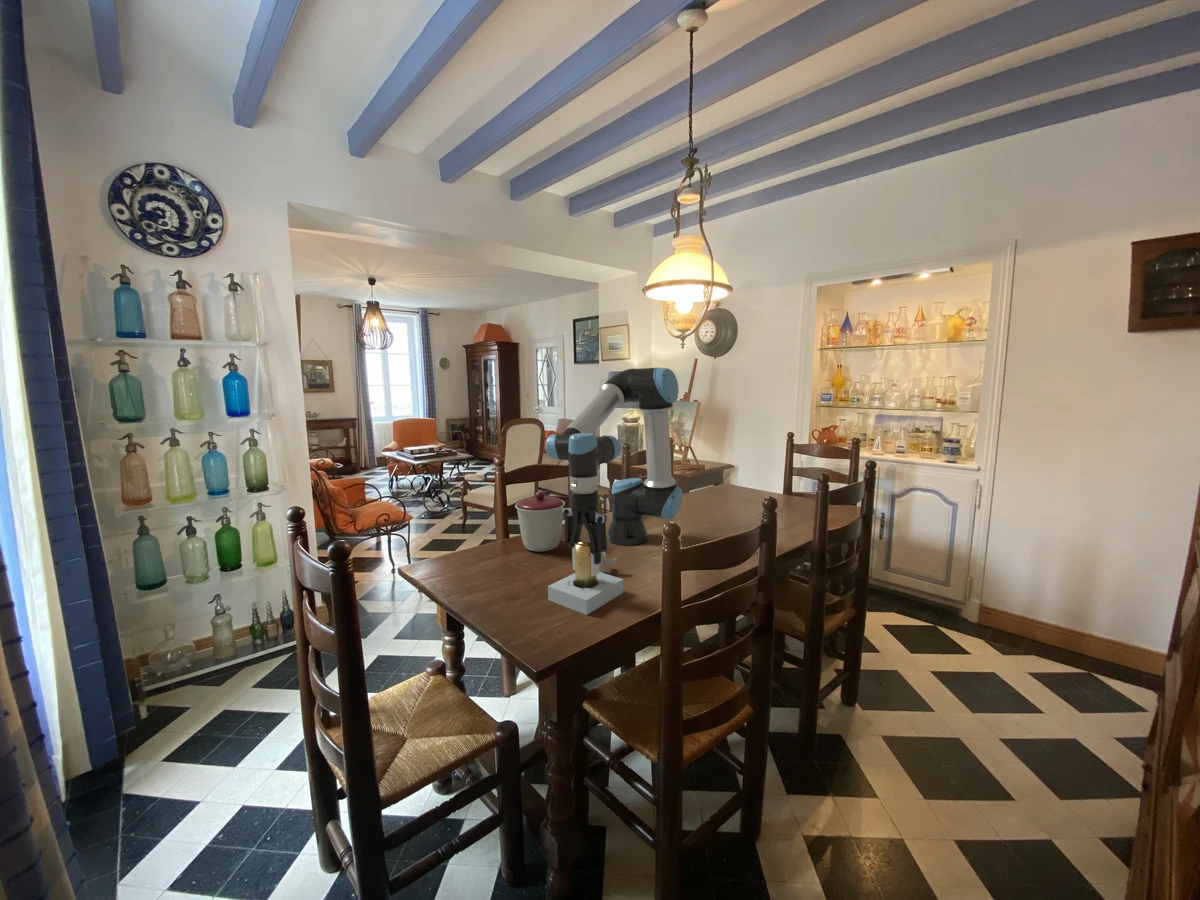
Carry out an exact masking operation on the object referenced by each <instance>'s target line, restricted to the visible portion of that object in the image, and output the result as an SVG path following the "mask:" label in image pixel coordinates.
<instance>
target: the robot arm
mask: <svg viewBox="0 0 1200 900" xmlns="http://www.w3.org/2000/svg"><path fill="white" fill-rule="evenodd" d="M679 391H680V390H679V383H678V379H677V376H676V375H675V373H674V371H672V370H671V369H670V368H668V367H645V368H644V367H643V368H628V369H624V370H622V371H620V372H617V373H616V374H615V375H613V376H611V377H610V378H609V379H607V380H606V381H605V382H604V383H603V384H602V385H601V386H600V387H599V390H598V394H597V395H596V396H595V397H594V398H593V399H592V400H591V401H590V402H589V403H588V404H587V405H586V406H585V408H584V409H583V410H582V411H581V412H580V413H579V414H578V415H577V416H576V417H575V419H574V420H572V422H570V424H569V425H568V426H566V428H565V429H564V430H563V431H562V433H560V434H559V433H553V434H550V435H548V437H547V438H546V440H545V445H544V449H545V453H546V455H547V456H548V457H549V458H551V459H554V460H558V461H560V460H561V461H568V462H569V488H570V493H569V496H570V497H569V499H570V503H569V504H570V506H571V507H568V508H566V509H563V515H564V516H563V517H564V543H565V544H568V545H569V547H570V557H571V558H572V570H573V571H575V545H574V544H575V542H577V541H578V540H580V538H581V537H580V536H581V534H582V533H581V532H582V528H583V525H584V527H585V530H587V534H588V539H590V542H591V546H592V550H593V552H591V576H595V575H597V574H599V563H601V552H605V551H607V550H608V544H607V542H608V541H609V542H610V543H613V544H615V545H619V546H620V545H621V546H635V545H640V544H643V543H646V541H648V532H647V529H646V525H645V522H644V517H643V516H646V517H651V518H652V517H653V518H659V519H663V520H664V519H667V520H671V519H675V517H676V516H677V515H678V514H679V512H680V510H681V507H682V502H683V496H684V495H683V489H682V488H681V487H679V486H677V480H676V479H675V478H674V477H673V476H672V461H671V460H672V459H671V440H670V439H671V437H670V435H671V433H670V416H669V415H670V413H669V411H670V410H671V409H672V408H673V406H674V405H673V403H675V402H677V400H678V397H679ZM626 403H638V409H639V410H640V411H641V412H642V413H643V420H644V421H643V423H644V425H643V426H644V438H645V440H644V441H645V456H646V458H645V459H646V473H647V475H646V476H647V478H645V480H643V479H642V478H641V477H640V478H639V477H631V478H624V479H619V480H616V481H613V483H612V487H611V513H612V514H611V523H610V525H609V529H608V531H607V528H606V522H607V515H606V514H603V515H602V514H600V513H599V511H598V508H597V507H598V503H599V491H597V490H598V489H599V486H598V485H599V484H598V482H599V481H598V466H599V465H602V464H606V463H611V462H612V461H613V460H614V461H615V460H616V459H617V458H618V457H619V456H620V453H621V449H622V448H621V444H620V441H619V439H617V438H616V437H615V436H613V435H611V434H610V435H602V436H597V435H596V434H595V433H596V432H597V430H598V429H600V426H602V425H603V423H604V422H605V421H606V420H607V419H608V418H609V417H610V415H611V414H612V413H613V412H614V410H615V409H619V408H621V407H622V406H623V404H626ZM607 540H608V541H607Z"/></svg>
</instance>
